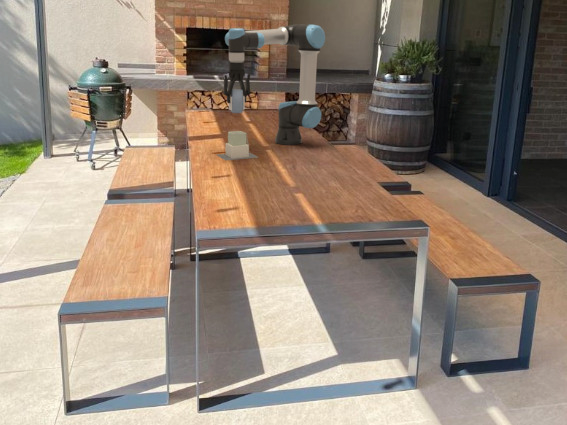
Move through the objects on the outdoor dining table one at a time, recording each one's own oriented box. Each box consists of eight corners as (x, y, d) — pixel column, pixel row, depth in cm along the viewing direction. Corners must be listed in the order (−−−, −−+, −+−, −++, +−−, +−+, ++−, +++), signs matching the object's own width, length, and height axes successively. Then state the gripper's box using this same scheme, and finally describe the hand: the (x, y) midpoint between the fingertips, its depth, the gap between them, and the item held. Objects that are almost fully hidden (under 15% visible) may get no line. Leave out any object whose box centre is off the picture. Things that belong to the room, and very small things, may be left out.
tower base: (242, 153, 331) (242, 142, 329) (248, 157, 324) (248, 145, 322) (225, 154, 328) (225, 143, 326) (232, 158, 320) (231, 146, 318)
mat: (248, 153, 336) (248, 151, 335) (259, 159, 324) (258, 157, 323) (215, 156, 328) (215, 154, 328) (225, 162, 316) (225, 160, 316)
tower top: (240, 142, 328) (240, 130, 326) (246, 145, 322) (246, 133, 320) (228, 143, 325) (227, 131, 323) (233, 146, 319) (233, 134, 317)
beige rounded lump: (254, 138, 339) (236, 130, 338) (246, 155, 343) (229, 147, 341) (255, 134, 348) (238, 126, 347) (247, 150, 352) (231, 142, 350)
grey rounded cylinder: (240, 111, 323) (240, 88, 319) (244, 112, 317) (244, 90, 314) (228, 111, 320) (228, 89, 317) (233, 113, 315) (233, 90, 312)
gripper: (251, 60, 319) (251, 107, 326) (215, 61, 311) (216, 109, 318) (257, 61, 312) (257, 109, 319) (220, 62, 304) (221, 111, 311)
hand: (236, 109), depth 318 cm, fingers closed on grey rounded cylinder, 6 cm apart
